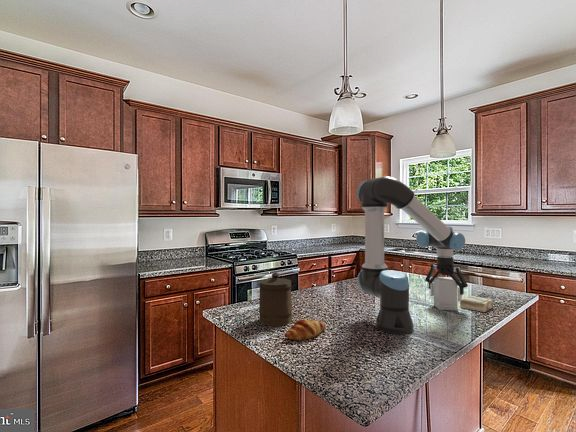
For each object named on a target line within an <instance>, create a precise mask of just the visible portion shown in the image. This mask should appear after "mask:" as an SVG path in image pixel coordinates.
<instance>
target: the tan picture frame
mask: <svg viewBox="0 0 576 432" xmlns="http://www.w3.org/2000/svg"><path fill="white" fill-rule="evenodd" d="M459 307H460V308H463V309H468V310H471V311H478V312H482V313H485V312H487V311H489V310H491V309H492V308H493V299H491V298H486V297H481V296H480V297H479V296H475V295H474V296H473V295H466V296H464V297H462V301H460V302H459Z"/></svg>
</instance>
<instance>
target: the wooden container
mask: <svg viewBox="0 0 576 432" xmlns="http://www.w3.org/2000/svg"><path fill="white" fill-rule="evenodd" d="M279 276H280V274H279V273H278V272H272V273H271V278H264V279H261V280H260V281H259V301H258V303H259V305H258V308H259V309H258V310H259V323H260V324H261V325H264V326H267V327H268V326H269V327H282V326H285V325H288V324H290V323H291V322H292V320H293V316H292V315H293V314H292V313H293V310H292V309H293V306H292V305H293V304H292V302H293V301H292V280H290V279H288V278H283V277H282V278H281V277H280V278H279Z"/></svg>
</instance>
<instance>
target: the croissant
mask: <svg viewBox="0 0 576 432" xmlns="http://www.w3.org/2000/svg"><path fill="white" fill-rule="evenodd" d="M326 328H327V323H326V322H323V321H320V320H319V321H317V320H315V319H310V320H309V319H307V318H301V319H297V320H296V321H295V322H294V323H293V325H291V326H290V329H288V330H286V332H285V333H284V337H285V338H286V339H289V340H295V341H302V340H308V339H311V338H315V337H317V336H318V335H319V334H322V331H325V330H326Z"/></svg>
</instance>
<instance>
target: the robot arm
mask: <svg viewBox="0 0 576 432" xmlns="http://www.w3.org/2000/svg"><path fill="white" fill-rule="evenodd" d="M415 195H416V194H415V192H414V191H413V190H412V189H411V188H410V187H409V186H408V185H406V184H405V183H403V181H400V180H399V179H397V178H394V177H392V176H381V177H380V176H379V177H375V178H368V179H366V180H363V181H362V182H361V183H359V186H358V187H357V190H356V196H357V199H358V201H359V202H360V203H361V209H362V210H363V211H364V263H363V264H362V265H361V270H360V271H359V273H357V274H358V275H357V277H356V280H357V284H358V287H359V289H360V290H361V291H362V292H364V293H366V294H368V295H370V296H372V297H376V298H378V299H379V311H378V314H377V317H376V320H375V327H376V328H377V330H379V331H381V332H384V333H387V334H392V335H407V334H412V333H413V332H414V331H415V330H414V325H415V324H414V322H413V319H412V316H411V313H410V312H411V311H410V283H409V281H410V280H409V276H408V275H407V274H405V273H404V272H402V271H398V270H391V269H390V270H389V269H388V268H389V267H388V266H387V264H386V263H385V211H386V210H387V209H388V204H389V205H392V206H393V207H395V208H396V209H398V210H402V211H403V212H404V213H406V214H407V215H408V216H409V217H410V218H411V219H412V220H414V221H415V222H416V223H417V224H418V225H419V226H421V228H423V231H419V232H418V233H417V234H416V237H415V238H416V239H415V240H416V243H417V245H418V246H419V247H423V248H427V247H433V248H436V256H437V257H436V264H431V265H430V269H429V271H428V274H427V275H426V277H425V279H424V281H425V282H426V283H428V289H429V290H430V291H429V292H430V297H434V279H435V278H436V277H440V275H441V276H444V275H445V276H448V277H451V278H452V279H453V280H455V282H456V284H457V301H458V302H459V303H460V301H462V298H463V295H464V294H465V291H464V289H465V288H467V287H468V283H467V281H466V279H465V277H464V275H463V273H462V269H461V267H460V266H458V267H454V250H461V249H463V248H464V246H465V245H466V238H465V237H466V236H464V234H463V233H460V232H455V231H453V227H452V226H450V225H446V223H444V222H443V221H442V220H441V219H440V218H439V217H438V216H436V215H435V213H434V212H432V211H431V210H430V209H429V207H427V206H426V205H424V203H422V202H421V201H420V200H419V199H418V198H417V197H416V196H415ZM436 269H437V270H436ZM435 270H436V273H435V274H434V272H435ZM455 272H456V273H455ZM433 274H434V275H433ZM432 275H433V276H432ZM456 275H457V276H456Z"/></svg>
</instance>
